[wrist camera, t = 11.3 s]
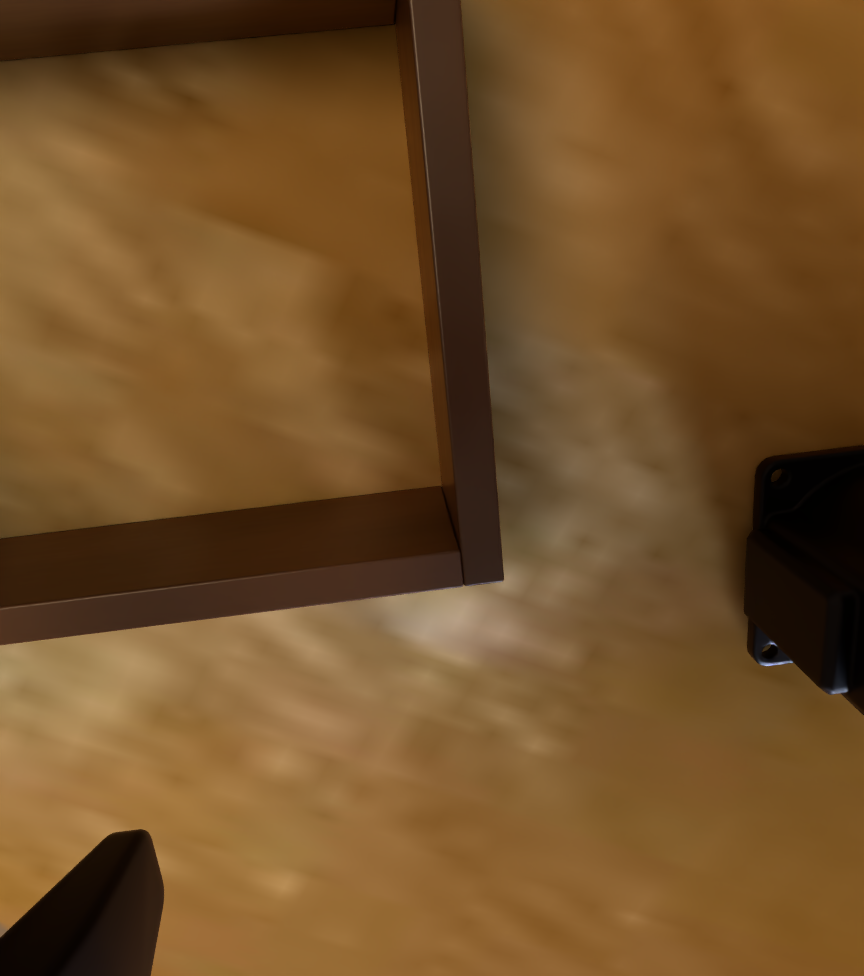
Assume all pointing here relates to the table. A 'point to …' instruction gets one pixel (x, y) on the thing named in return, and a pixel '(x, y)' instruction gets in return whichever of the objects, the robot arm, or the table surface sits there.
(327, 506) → the crate
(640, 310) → the table surface
